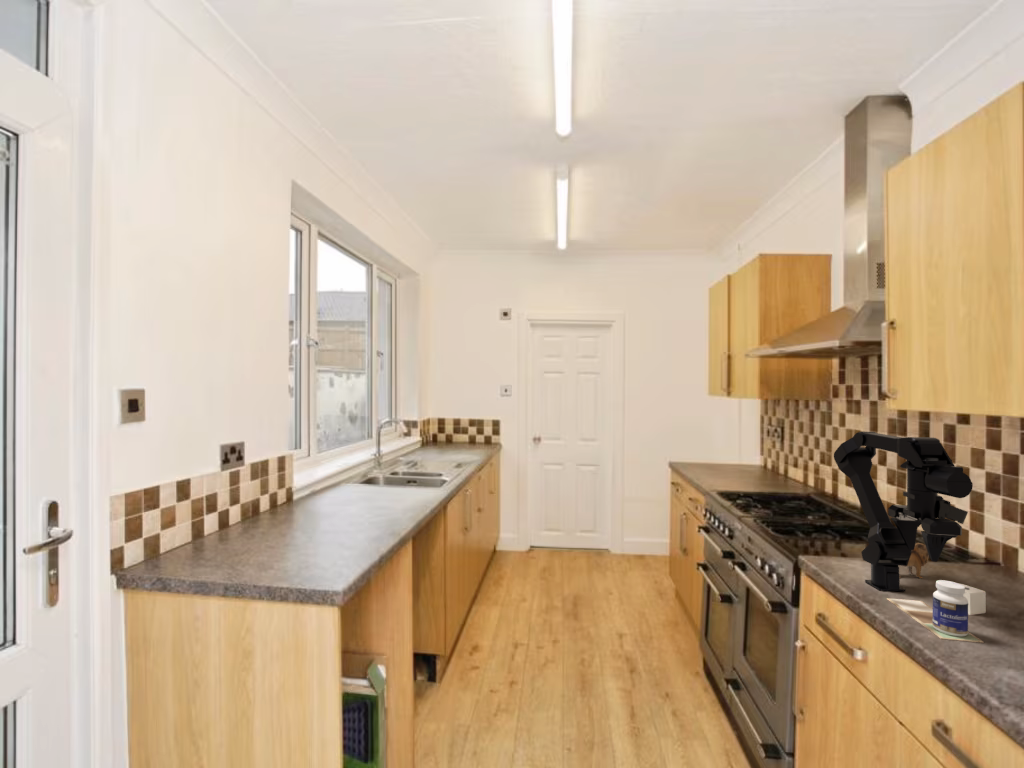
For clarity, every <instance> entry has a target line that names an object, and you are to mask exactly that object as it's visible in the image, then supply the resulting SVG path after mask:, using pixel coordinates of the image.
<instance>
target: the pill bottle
mask: <svg viewBox="0 0 1024 768" xmlns="http://www.w3.org/2000/svg"><path fill="white" fill-rule="evenodd" d="M961 584H962V583H958V582H954V581H952V580H951V581H950V580H944V579H943V580H942V579H939V580H936V582H935V588H936V590H935V591H934V592H933V593H932V608H933V622H932V623H933V627H934V628H935V629H936V630H938V631H940V632H942V633H945V634H948V635H952V636H959V637H963V636H966V635H967V634H968V632H969V614H968V600H967V598H966V597H964V596H963V594H964V593H965V587H964V586H963V585H961Z"/></svg>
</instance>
